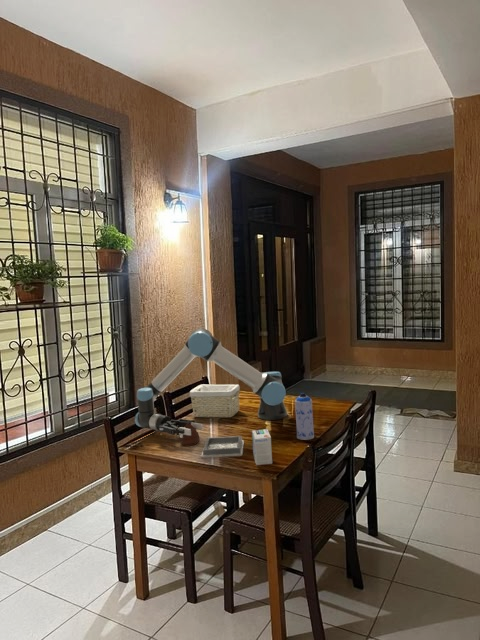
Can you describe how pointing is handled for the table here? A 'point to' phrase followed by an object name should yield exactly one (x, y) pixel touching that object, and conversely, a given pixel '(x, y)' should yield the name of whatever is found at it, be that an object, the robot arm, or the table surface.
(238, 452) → the mousse holder
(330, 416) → the table surface
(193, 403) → the storage basket
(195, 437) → the poop emoji
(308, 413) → the aerosol can
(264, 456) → the light bulb box
